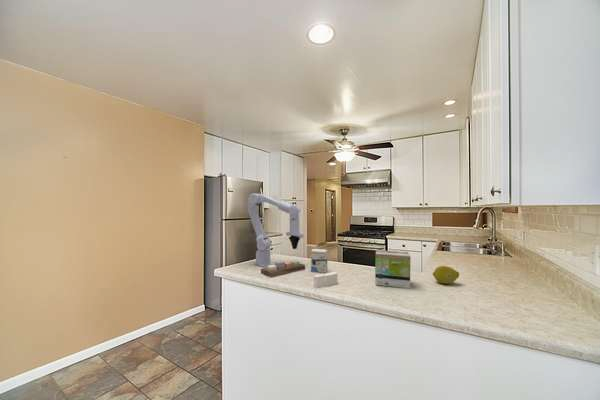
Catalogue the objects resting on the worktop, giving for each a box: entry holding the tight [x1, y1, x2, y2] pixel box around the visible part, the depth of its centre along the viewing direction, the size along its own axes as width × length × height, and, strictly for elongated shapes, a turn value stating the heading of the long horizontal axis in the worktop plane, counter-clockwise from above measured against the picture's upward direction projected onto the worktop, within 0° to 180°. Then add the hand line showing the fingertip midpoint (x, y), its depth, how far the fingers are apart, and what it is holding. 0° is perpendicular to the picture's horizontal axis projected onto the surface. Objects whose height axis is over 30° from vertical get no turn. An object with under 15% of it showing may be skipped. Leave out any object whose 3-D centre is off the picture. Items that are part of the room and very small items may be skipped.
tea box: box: [374, 249, 411, 289], centre depth 117 cm, size 15×10×15 cm, turn 73°
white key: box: [266, 264, 277, 271], centre depth 135 cm, size 4×4×3 cm
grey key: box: [274, 260, 286, 269], centre depth 138 cm, size 4×4×3 cm
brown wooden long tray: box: [260, 263, 306, 278], centre depth 140 cm, size 10×23×2 cm, turn 129°
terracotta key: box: [284, 261, 292, 268], centre depth 141 cm, size 4×4×3 cm
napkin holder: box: [313, 271, 339, 289], centre depth 117 cm, size 15×11×6 cm
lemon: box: [432, 265, 460, 285], centre depth 117 cm, size 11×8×8 cm
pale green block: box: [289, 259, 301, 266], centre depth 144 cm, size 4×4×3 cm
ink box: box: [310, 248, 328, 274], centre depth 139 cm, size 8×5×12 cm, turn 73°
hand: (294, 248), depth 150 cm, fingers closed
